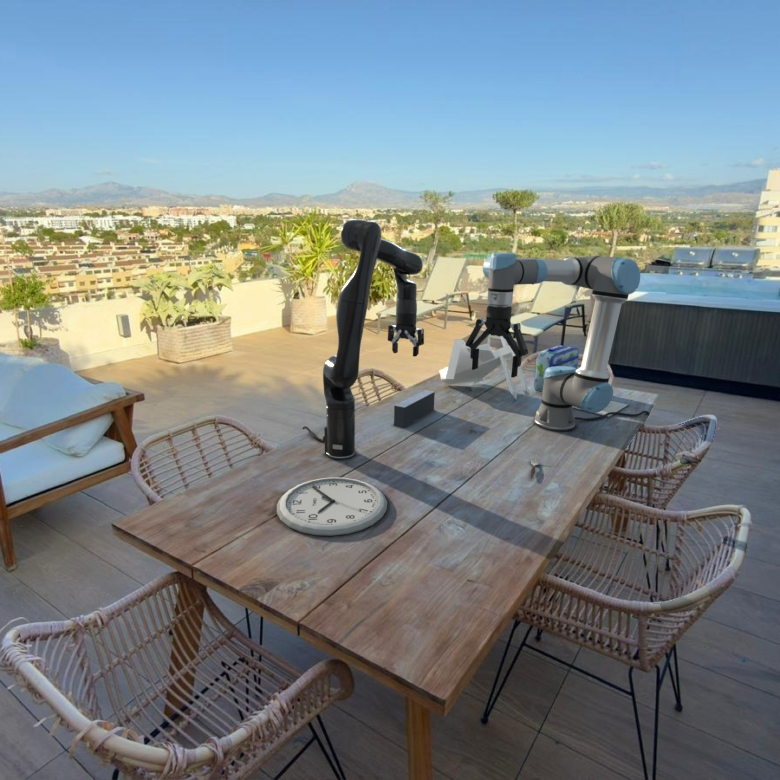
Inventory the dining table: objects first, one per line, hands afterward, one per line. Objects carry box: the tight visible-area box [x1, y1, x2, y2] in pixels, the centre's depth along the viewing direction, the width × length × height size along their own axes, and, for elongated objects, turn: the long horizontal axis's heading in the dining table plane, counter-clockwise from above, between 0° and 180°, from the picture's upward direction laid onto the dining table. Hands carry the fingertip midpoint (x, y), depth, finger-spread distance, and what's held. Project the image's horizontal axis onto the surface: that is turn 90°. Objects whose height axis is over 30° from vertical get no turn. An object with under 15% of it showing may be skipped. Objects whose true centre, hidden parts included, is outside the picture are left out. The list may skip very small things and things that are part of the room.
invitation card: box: [573, 400, 629, 418], centre depth 226 cm, size 21×1×15 cm
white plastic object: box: [438, 336, 531, 400], centre depth 245 cm, size 37×45×31 cm
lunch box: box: [533, 345, 580, 393], centre depth 245 cm, size 26×11×21 cm, turn 135°
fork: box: [530, 454, 541, 480], centre depth 166 cm, size 3×16×2 cm, turn 160°
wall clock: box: [276, 476, 388, 537], centre depth 142 cm, size 30×2×30 cm
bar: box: [393, 389, 436, 429], centre depth 208 cm, size 24×4×8 cm, turn 147°
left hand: (405, 354), depth 194 cm, fingers open, 8 cm apart
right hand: (494, 372), depth 165 cm, fingers open, 13 cm apart
